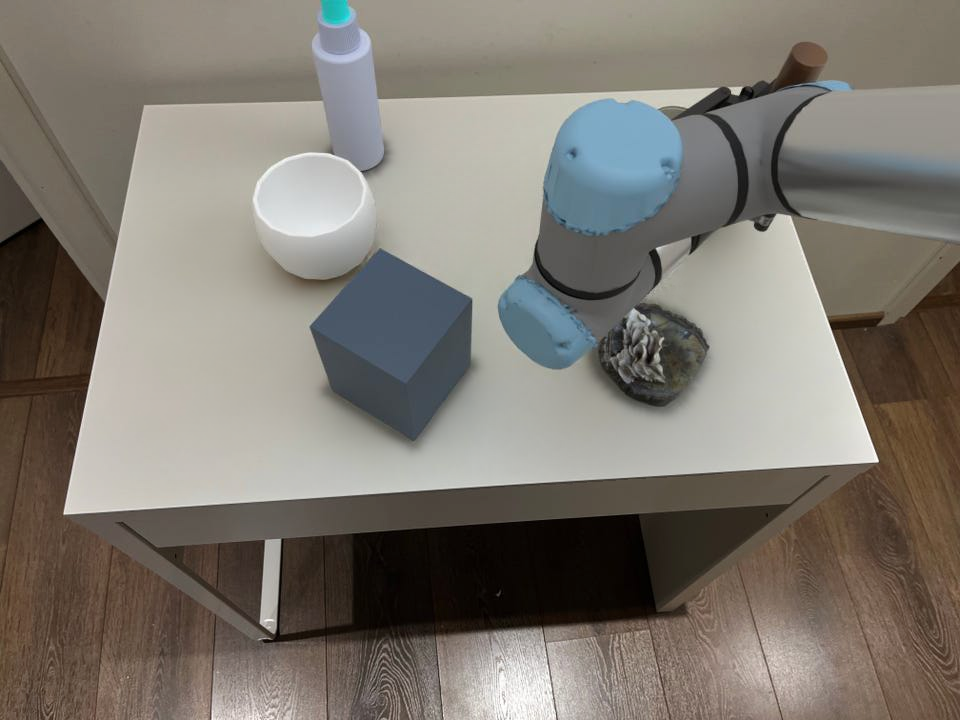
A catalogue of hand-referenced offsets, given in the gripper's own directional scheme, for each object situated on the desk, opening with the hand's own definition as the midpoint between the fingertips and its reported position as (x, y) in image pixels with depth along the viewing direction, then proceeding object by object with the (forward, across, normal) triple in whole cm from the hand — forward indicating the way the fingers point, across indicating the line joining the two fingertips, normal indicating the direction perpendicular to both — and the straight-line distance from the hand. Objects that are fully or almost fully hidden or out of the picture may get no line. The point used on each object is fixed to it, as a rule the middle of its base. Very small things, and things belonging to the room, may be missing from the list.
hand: (809, 86), depth 65 cm
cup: (-37, -30, -19) cm, 51 cm away
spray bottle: (-25, -38, -19) cm, 50 cm away
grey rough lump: (-22, +4, -19) cm, 29 cm away
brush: (-5, 0, -8) cm, 10 cm away
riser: (-42, -12, -19) cm, 47 cm away
